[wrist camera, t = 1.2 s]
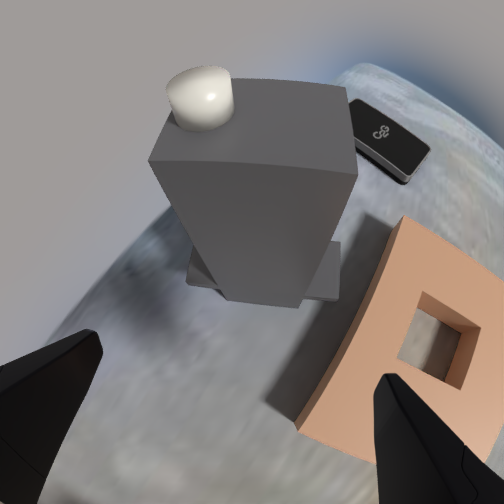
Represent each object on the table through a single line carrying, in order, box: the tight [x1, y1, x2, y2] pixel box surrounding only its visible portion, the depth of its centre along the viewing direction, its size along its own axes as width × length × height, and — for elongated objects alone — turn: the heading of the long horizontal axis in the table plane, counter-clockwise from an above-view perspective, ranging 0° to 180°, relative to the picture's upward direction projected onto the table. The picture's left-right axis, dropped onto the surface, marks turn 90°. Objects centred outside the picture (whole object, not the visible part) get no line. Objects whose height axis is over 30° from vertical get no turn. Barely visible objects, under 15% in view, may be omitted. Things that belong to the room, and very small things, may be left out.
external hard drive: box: [348, 98, 431, 185], centre depth 27 cm, size 7×11×2 cm, turn 44°
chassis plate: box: [294, 215, 504, 464], centre depth 17 cm, size 18×18×3 cm
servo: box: [148, 66, 358, 308], centre depth 14 cm, size 10×4×17 cm, turn 82°
